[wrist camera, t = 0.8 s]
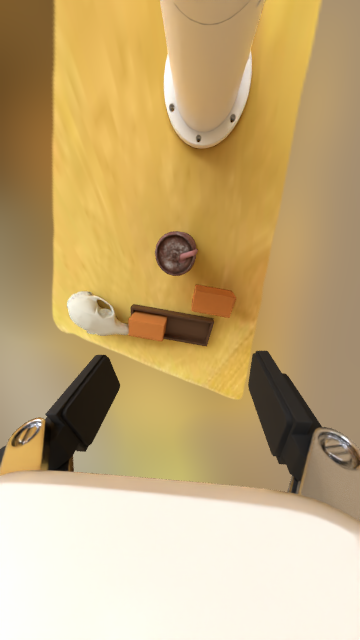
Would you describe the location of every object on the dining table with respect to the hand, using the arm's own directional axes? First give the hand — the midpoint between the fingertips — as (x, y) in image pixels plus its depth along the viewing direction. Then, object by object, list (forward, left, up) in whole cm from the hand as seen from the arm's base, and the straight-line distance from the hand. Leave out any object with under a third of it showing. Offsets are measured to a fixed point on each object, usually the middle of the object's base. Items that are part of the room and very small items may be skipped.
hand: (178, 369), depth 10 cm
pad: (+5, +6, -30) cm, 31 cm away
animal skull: (+15, -22, -31) cm, 41 cm away
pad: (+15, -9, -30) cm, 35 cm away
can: (-5, -3, -31) cm, 31 cm away
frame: (+15, -3, -30) cm, 34 cm away
